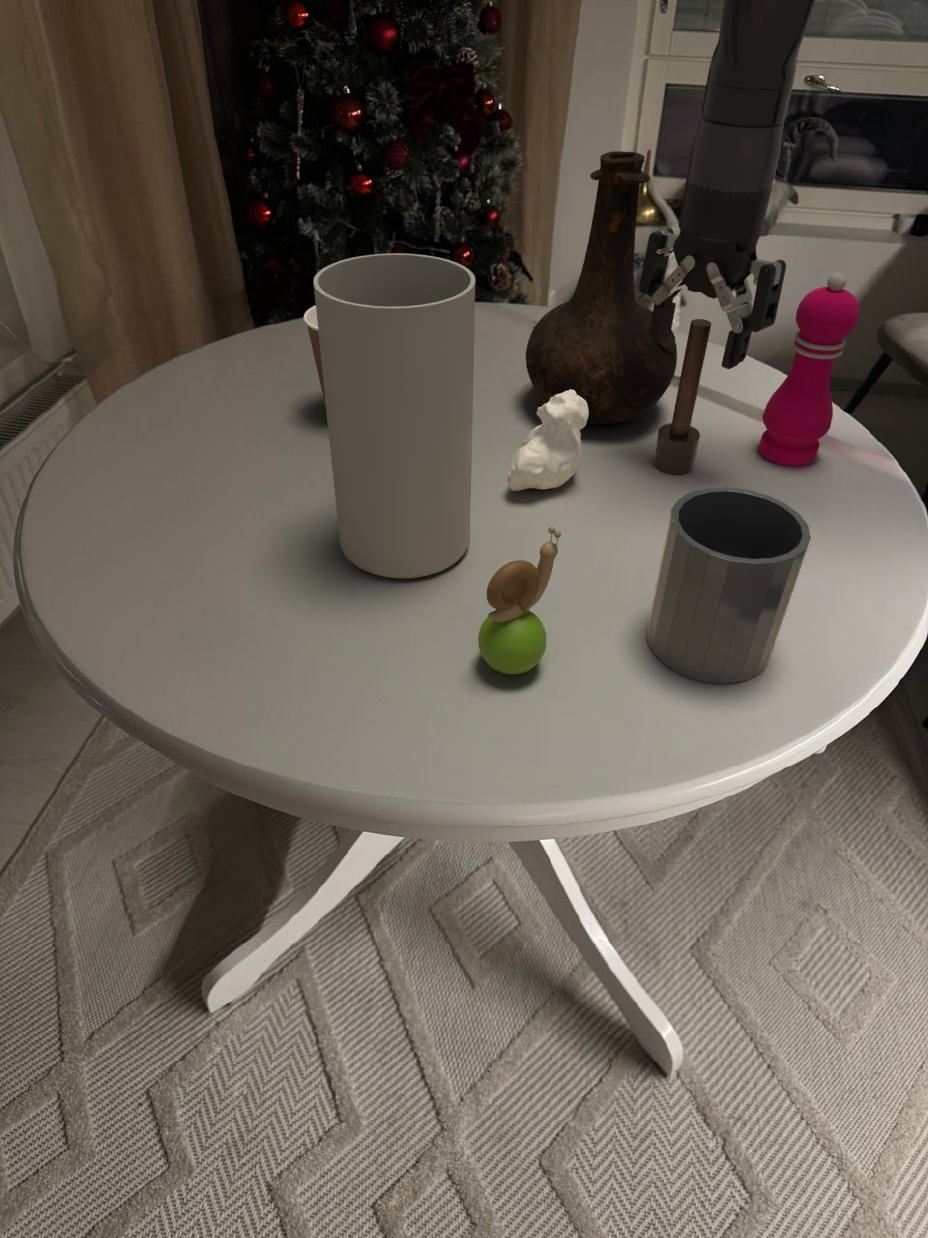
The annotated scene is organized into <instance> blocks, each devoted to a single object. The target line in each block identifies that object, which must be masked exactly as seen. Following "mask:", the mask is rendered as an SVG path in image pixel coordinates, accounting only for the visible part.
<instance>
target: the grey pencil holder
mask: <svg viewBox="0 0 928 1238" xmlns="http://www.w3.org/2000/svg"><path fill="white" fill-rule="evenodd" d="M667 522H668V523H667V528H666V532H665V537H664V543H663V547H662V551H661V557H660V562H659V565H658V566H659V567H658V571H657V575H656V576H657V577H656V582H655V586H654V591H653V597H652V601H651V606H650V611H649V615H648V623H647V624H648V625H647V628H646V640H647V642H648V645H649V648H650V649H651V651H652V653H653V654H654V655H655V657H656V658H657V659H658V660H659V662H661V663H662V664H663V665H664V666H666V667H668V668H669V669H671V670H672V671H673V672H675V673H677V674H679V675H682V676H684V677H686V678H689V679H692V680H696V681H697V682H698V681H699V682H702V683H708V684H718V685H724V684H736V683H740V682H741V683H742V682H744V681H748V680H750V679H753V678H754V677H756V676H757V675H759V674H760V673H761V672H762V671H763V670H764V669H765V668H766V667H767V665H768V664H769V661H770V659H771V656H772V653H773V650H774V648H775V645H776V642H777V639H778V636H779V633H780V629H781V627H782V625H783V622H784V618H785V616H786V613H787V611H788V607H789V604H790V601H791V597H792V595H793V592H794V589H795V586H796V584H797V580H798V577H799V574H800V571H801V568H802V565H803V562H804V560H805V557H806V553H807V551H808V547H809V545H810V542H811V539H812V537H811V531H810V527H809V525H808V523H807V522H806V521H805V519H804V518H803V517H802V515H801V514H800V513H799V512H798V511H796V510H795V509H793V508H792V507H791V506H789V505H788V504H787V503H786V502H783V501H781V500H779V499H776V498H774V497H772V496H770V495H767V494H764V493H760V492H756V491H753V490H750V489H746V488H745V489H744V488H743V489H742V488H737V487H736V488H735V487H726V486H725V487H724V486H723V487H707V488H703V489H699V490H695V491H691V492H689V493H687V494H686V495H684V496H682V497H680V498H679V499H677V501H675V503H674V504H673V507H672V508H671V509H670V513H669V518H668V521H667Z"/></svg>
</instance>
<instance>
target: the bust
mask: <svg viewBox="0 0 928 1238" xmlns="http://www.w3.org/2000/svg"><path fill="white" fill-rule="evenodd" d="M535 414H536V415H537V416H538V417H539V418H540V419H539V420H540V421H541V424H539V425H537V426H535V427H534V428H533V429H531V430H530V431H529V432H528V434H527V437H526V438H525V440H524V441H523V442H522V443H521V445H520V448H519V449H518V450H517V451H516V453H515V454H514V456H513V458H512V460H511V462H510V465H509V466H508V470H507V475H506V476H507V477H506V479H507V484H508V488H509V489H510V490H511V491H513V492H519V491H524V490H527V489H537V490H548V489H556V488H559V487H561V486H563V485H564V484H565V483H566V482H568V481H569V480H570V479H571V477H573V476H574V475H575V473H576V472H577V471H578V469H579V465H580V462H581V458H582V452H581V449H582V441H581V437H582V434H581V431H580V430H582V429H584V428H585V426H586V425H587V424H588V423H587V419H588V416H589V411H588V405H587V402H586V401H585V400H584V399H583V398H582V397H580V396H579V395H577V394H576V392H575V391H574V390H571V389H570V390H568V391H565V392H563V393H560V394H556V395H555V396H553V397H551V398H550V401H549V402H548V403H543V405H542V406H538V407H537V410H536V413H535Z"/></svg>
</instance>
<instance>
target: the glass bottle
mask: <svg viewBox="0 0 928 1238" xmlns="http://www.w3.org/2000/svg"><path fill="white" fill-rule="evenodd" d="M645 159H646V157H645V155H643V154H642V153H639V152H635V151H623V150H620V151H618V150H616V151H615V150H613V151H607V152H605V153H602V154H601V155H600V157H599V160H600V161H599V163H600V166H599V169H596V170H594V171H592V172H591V173H590V174H589V177H590V179H591V180H593V181H597V182H598V183H597V190H596V195H595V202H594V208H593V214H592V220H591V226H590V230H589V236H588V241H587V245H586V250H585V253H584V254H585V255H584V259H583V264H582V266H581V267H582V268H581V271H580V273H579V274H580V275H579V278H578V281H577V284H576V287H575V289H574V292H573V294H572V296H571V297H570V298H569V300H568V301H566V302H564V303H561V304H558V305H557V306H554V307H553V308H552V309H551V310H549V311H548V312H547V313H545V314H544V315H543V316H542V317H541V318H540V319H539V320H538V322H537V323H536V324H535V325H534V326H533V328H532V330H531V332H530V335H529V338H528V340H527V344H526V350H525V366H526V371H527V374H528V377H529V380H530V382H531V385H532V387H533V388H534V390H535V392H536V393H537V395H538V396H539V398H540V399H541V400H542V401H543V402H544V404H546V403H548V402H549V401H550V398H551V397H553V396H555V395H556V394H560V393H563V392H565V391H568V390H570V389H571V390H574V391H575V392H576V394H577V395H579V396H580V397H582V398H583V399H584V400H585V401H586V402H587V405H588V411H589V416H588V419H587V423H586V424H589V425H612V424H613V425H614V424H619V423H623V422H626V421H629V420H632V419H634V418H637V417H639V416H640V415H643V414H644V413H645V412H647V411H648V410H650V409H651V408H652V407H653V406H654V405H656V404H657V403H658V402H659V400H660V399H661V398H663V396H664V394H665V393H666V392H667V390H668V388H669V387H670V385H671V383H672V381H673V379H674V375H675V373H676V369H677V363H678V350H677V349H678V347H677V343H676V336H675V334H674V332H673V330H672V329H671V333H670V337H669V338H668V339H667V340H665V341H663V342H660V343H657V342H655V341H653V340H652V334H651V332H650V326H651V320H652V314H653V310H651V309H649V308H648V307H645V306H643V305H641V304H639V303H638V302H637V297H636V292H635V291H636V290H635V246H636V232H637V231H636V230H637V216H638V205H639V196H640V186H641V185H640V184H645V183H647V182H649V181H650V175H649V174H648V173H646V172H645V171H643V170H642V169H643V165H644V163H645Z"/></svg>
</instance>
